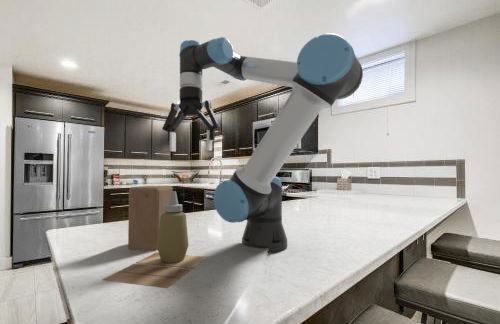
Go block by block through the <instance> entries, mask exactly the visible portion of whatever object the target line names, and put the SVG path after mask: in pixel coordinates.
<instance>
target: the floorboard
mask: <svg viewBox="0 0 500 324" xmlns="http://www.w3.org/2000/svg"><path fill="white" fill-rule="evenodd" d="M191 270H192V269H186V268H176V267H167V266H157V265H147V264H137V263H132V264H130V265H129V266H126V267H125V268H123V269H121V270H118V271H117V272H115V273H112V274H110V275H108V276H106V277H105V278H103V279H102V281H106V282H115V283H124V284H132V285H138V286H146V287H157V288H163V289H169V288H171V286H173V285H174V284H176V282H178V281H179V280H180V279H182V278H183V277H184V276H185V275H187V274H188V273H189V272H191Z"/></svg>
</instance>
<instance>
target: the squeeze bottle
mask: <svg viewBox="0 0 500 324" xmlns="http://www.w3.org/2000/svg"><path fill="white" fill-rule="evenodd" d="M164 211H165V213H163V214H162V215H161V217H160V226H159V235H158V243H157V249H158V250H157V253H159V255H160V258H161V261H162V262H166V263H173V262H179V261H181V260H183V259H184V258H185V255H187V251H188V249H189V245H190V244H189V237H188V233H189V232H188V226H187V214H186V213H185V212H183V204H181V203H180V204H179V201H178V194H177V191H176V190H175V191H174V190H173V191H171V195H170V200H169V204H168V205H165V206H164Z"/></svg>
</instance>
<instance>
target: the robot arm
mask: <svg viewBox="0 0 500 324" xmlns="http://www.w3.org/2000/svg"><path fill="white" fill-rule="evenodd" d="M178 56H179V103H174V102H172V103H171V104H170V109H169V112H168V114H167V117H166V119H165V121H164V123H163V126H162V130H163V131H166V132H167V141H168V142H169V151H170V152H175V153H176V151H177V133H176V132H175V131H176V130H177V128H178V127H179V126H180V124H181V123H182V122H183V120H184V119H185V118H187V117H197V116H198V118H200V120H201V121H202V122H203V124H204V125H205V126H206V128H208V129H207V130H206V151H213V141H215V139H216V138H215V137H216V136H215V135H216V134H215V132H216V131H217V130H219V129H220V128H221V125H220V122H219V121H218V119H217V117H216V115H215V113H214V111H213V109H212V103H211V101H209V100H205V101H203V70H206V69H210V68H215V69H217V70H219V71H221V72H223V73H225V74H227V75H228V76H231V77H232V78H233V79H236V80H237V81H247V80H248V81H254V82H261V83H267V84H272V85H279V86H283V87H289V88H292V92H291V93H290V94H289V96H288V97H287V99H286V101H285V103H283V105H282V107H281V109H280V111H279V112H278V113H277V115H276V116H275V118H274V120H273V121H272V123H271V124H270V126H269V127H268V129H267V131H266V132H265V134H264V135H263V137H262V138H261V140H260V141H259V143H258V145H257V146H256V148H255V149H254V151H253V152H252V154H251V156H250V157H249V159H248V160H247V162H246V163H245V165H244V166H239V167H237V168H235V171H234V173H233V174H232V175H231V177H230V179H226V180H222V181H221V182H220V183H219V184H217V186H216V187H215V189H214V194H213V202H214V207H215V211H216V213H217V214H218V215H219V216H220V218H221V219H223V220H224V221H225V222H227V223H233V224H235V223H242V222H244V221H246V225H245V227H244V231H243V234H242V237H241V244H243V245H245V246H248V247H251V248H257V249H268V250H267V253H274V252H279V251H284V250H286V249H287V248H288V237H287V235H286V231H285V229H284V228H285V227H284V224H283V219H282V218H283V217H282V215H283V205H282V203H283V201H282V200H283V193H282V192H283V186H282V180H281V178H279V177H278V176H276V175H277V174H278V173H279V172H280V170H281V168H282V167H283V165H284V164H285V163H286V162H287V160H288V158H289V157H290V155H291V154H292V153H293V151H294V149H296V147H297V146H298V144H299V142H300V141H301V140H302V138H303V137H304V136H305V134H306V133H307V131H308V130H309V128H310V127H311V125H312V124H313V122H314V121H315V120H316V118H317V116H318V115H319V114H320V112H321V111H323V110H324V109H327V108H331V107H332V106H333V105H334V103H335V102H336V100H343V99H346V98H349V97H351V96H352V95H354V93H355V92H356V91H357V90H358V89H359V88H360V86H361V84H362V81H363V76H364V73H363V67H362V65H361V62H360V61H359V60H358V58H357V55H356V54H355V51H354V48H353V47H352V45H351V44H350V43H349V42H348V41H347V39H345V38H344V37H343V36H341V35H339V34H337V33H322V34H320V35H317V36H315V37H313V38H311V39H310V40H309V41H307V42H306V43H305V44H304V45H303V47H302V48H301V49H300V50H299V52H298V56H297V60H296V61H289V60H282V59H281V60H280V59H271V58H262V57H261V58H260V57H253V56H246V55H245V56H244V55H243V56H242V55H240V54H238V53H236V52H235V51H234V48H233V44H232V43H230V40H229V39H228V38H226V37H225V36H224V37H222V36H221V37H217V38H212V39H210V40H208V41H206V42H203V43H201V42H200V41H197V40H193V39H190V40H188V39H187V40H184V41H182V42H181V43H180V49H179V54H178ZM203 108H204V109H205V110H206V113H207V114H208V116H209V119H208V118H207V117H206V115H205V113H204V112H202V109H203Z"/></svg>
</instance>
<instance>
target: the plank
mask: <svg viewBox="0 0 500 324" xmlns="http://www.w3.org/2000/svg"><path fill="white" fill-rule="evenodd" d="M207 258H208V256H204V255H203V256H201V255H191V254H190V255H189V254H186V255H185V258H184V259H183V260H181V261H179V262H173V263H166V262H162V261H161V258H160V255H159V252H158V251H157V252H156V251H155V252H154V253H151V255H147V257H144V258H142V259H140V260H138V261H136V262H135V264H142V265H152V266H162V267H172V268H182V269H191V270H193V269H195V267H197V266H199V264H201V263H202V262H203V261H204V260H206V259H207Z"/></svg>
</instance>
